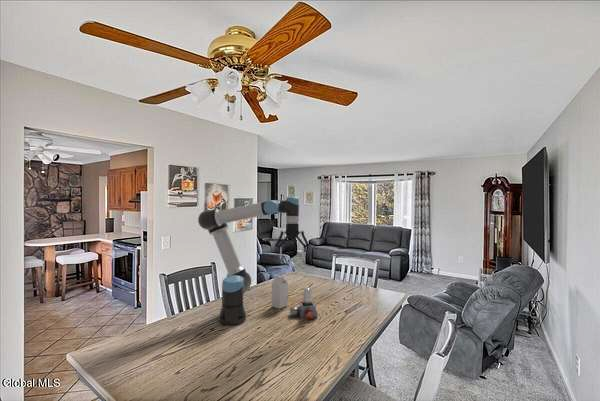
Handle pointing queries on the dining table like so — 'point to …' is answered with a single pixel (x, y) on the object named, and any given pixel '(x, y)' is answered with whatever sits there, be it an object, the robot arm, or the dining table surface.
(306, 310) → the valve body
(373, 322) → the dining table surface
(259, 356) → the dining table surface
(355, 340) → the dining table surface
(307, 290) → the silver rounded cylinder
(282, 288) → the milk carton
